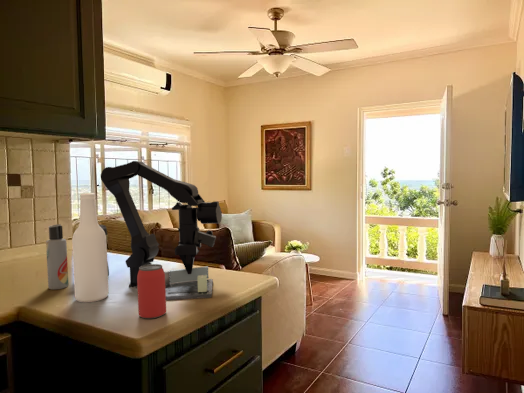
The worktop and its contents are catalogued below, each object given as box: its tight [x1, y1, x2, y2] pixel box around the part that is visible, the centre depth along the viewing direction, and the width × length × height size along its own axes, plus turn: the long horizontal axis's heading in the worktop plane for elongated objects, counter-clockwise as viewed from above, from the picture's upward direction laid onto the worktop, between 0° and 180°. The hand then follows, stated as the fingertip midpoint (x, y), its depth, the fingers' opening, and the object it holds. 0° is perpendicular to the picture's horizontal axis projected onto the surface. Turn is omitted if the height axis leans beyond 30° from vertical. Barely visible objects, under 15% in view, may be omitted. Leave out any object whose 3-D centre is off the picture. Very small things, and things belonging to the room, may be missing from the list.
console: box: [165, 278, 214, 301], centre depth 112 cm, size 15×16×1 cm
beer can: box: [136, 263, 167, 320], centre depth 93 cm, size 7×7×12 cm
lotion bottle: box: [45, 223, 69, 290], centre depth 120 cm, size 6×6×20 cm
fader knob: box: [197, 275, 207, 292], centre depth 108 cm, size 2×3×4 cm
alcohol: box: [71, 192, 109, 303], centre depth 107 cm, size 9×9×30 cm
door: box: [164, 266, 209, 284], centre depth 119 cm, size 14×2×4 cm, turn 111°
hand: (189, 274), depth 118 cm, fingers closed
